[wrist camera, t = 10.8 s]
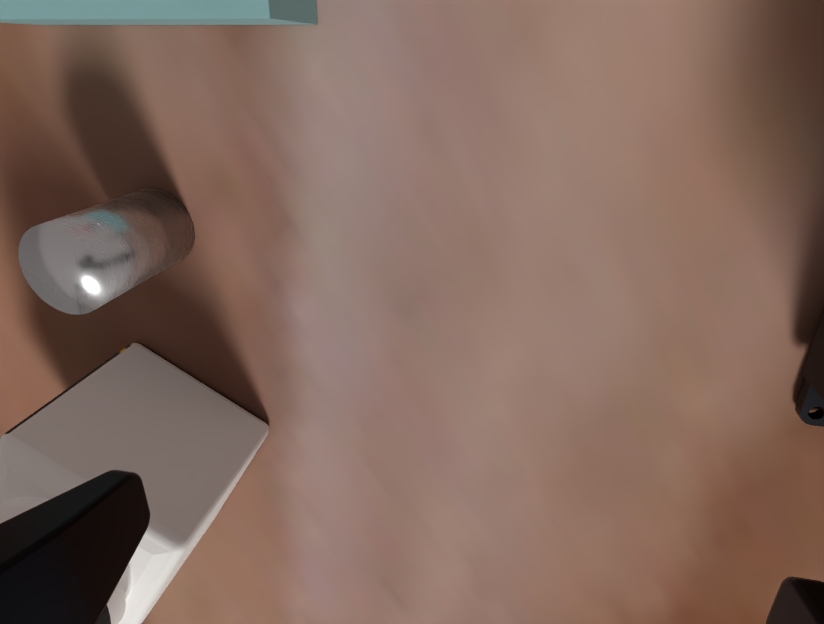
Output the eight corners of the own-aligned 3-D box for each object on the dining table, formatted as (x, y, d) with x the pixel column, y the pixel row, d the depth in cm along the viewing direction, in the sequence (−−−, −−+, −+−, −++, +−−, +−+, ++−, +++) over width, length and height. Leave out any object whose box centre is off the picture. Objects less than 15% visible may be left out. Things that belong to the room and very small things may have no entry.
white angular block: (135, 336, 24) (-180, 558, 14) (274, 424, 25) (76, 705, 14) (93, 438, 27) (-188, 683, 17) (217, 514, 28) (20, 798, 17)
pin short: (187, 190, 21) (93, 227, 16) (200, 265, 22) (115, 318, 18) (116, 186, 21) (6, 220, 17) (132, 259, 23) (34, 310, 18)
